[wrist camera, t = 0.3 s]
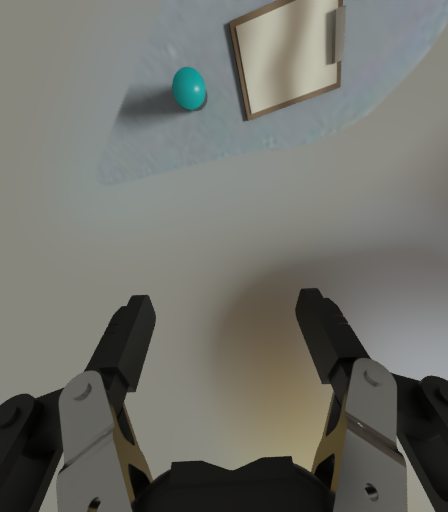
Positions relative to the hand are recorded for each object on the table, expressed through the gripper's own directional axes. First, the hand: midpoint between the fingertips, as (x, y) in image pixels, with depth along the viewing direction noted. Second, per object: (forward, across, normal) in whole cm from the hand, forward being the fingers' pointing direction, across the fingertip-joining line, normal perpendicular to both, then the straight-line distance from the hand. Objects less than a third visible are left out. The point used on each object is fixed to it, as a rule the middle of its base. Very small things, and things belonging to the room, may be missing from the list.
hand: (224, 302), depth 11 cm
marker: (+27, +3, -10) cm, 29 cm away
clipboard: (+27, -9, -14) cm, 31 cm away
